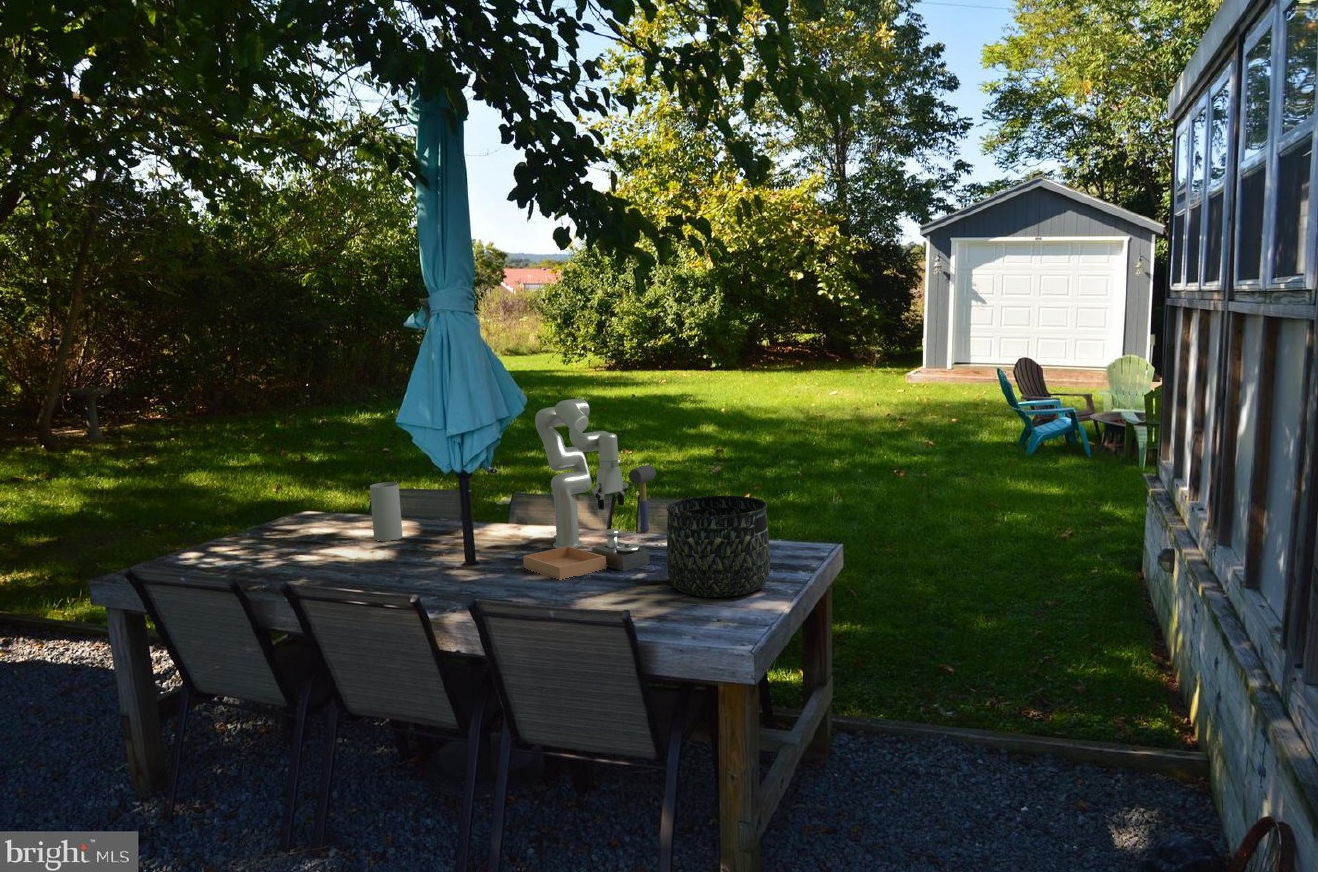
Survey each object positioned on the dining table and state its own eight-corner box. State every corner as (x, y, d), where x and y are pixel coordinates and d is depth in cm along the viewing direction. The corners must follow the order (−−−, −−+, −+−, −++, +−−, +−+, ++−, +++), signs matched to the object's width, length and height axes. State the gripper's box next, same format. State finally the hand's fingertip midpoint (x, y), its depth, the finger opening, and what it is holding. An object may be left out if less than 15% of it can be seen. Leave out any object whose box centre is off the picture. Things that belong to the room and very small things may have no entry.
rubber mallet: (643, 536, 450) (641, 468, 446) (630, 534, 454) (627, 467, 450) (659, 530, 460) (656, 464, 456) (645, 528, 464) (643, 463, 460)
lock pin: (603, 561, 409) (602, 530, 408) (614, 558, 413) (613, 528, 411) (612, 563, 405) (610, 532, 403) (622, 561, 408) (621, 530, 407)
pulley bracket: (592, 562, 409) (591, 541, 408) (618, 556, 417) (617, 535, 416) (623, 571, 393) (622, 549, 392) (649, 564, 401) (648, 543, 400)
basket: (708, 568, 392) (706, 491, 388) (790, 582, 369) (788, 500, 365) (647, 591, 364) (643, 509, 360) (731, 608, 341) (728, 520, 337)
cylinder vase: (368, 541, 460) (364, 487, 457) (383, 535, 472) (379, 482, 469) (393, 542, 456) (388, 487, 453) (407, 536, 468) (403, 482, 465)
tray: (523, 568, 403) (523, 555, 403) (569, 557, 417) (568, 545, 416) (560, 580, 384) (559, 567, 383) (606, 569, 397) (605, 556, 396)
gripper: (620, 460, 412) (623, 502, 414) (585, 466, 401) (588, 509, 403) (632, 462, 406) (634, 504, 408) (596, 468, 395) (599, 511, 397)
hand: (611, 507), depth 406 cm, fingers open, 9 cm apart
